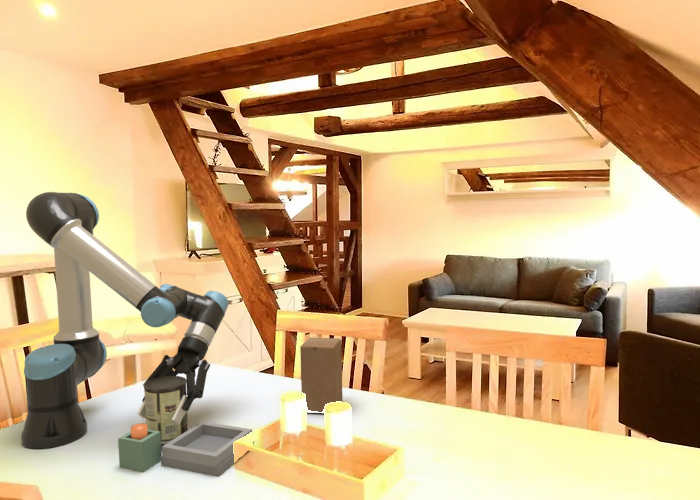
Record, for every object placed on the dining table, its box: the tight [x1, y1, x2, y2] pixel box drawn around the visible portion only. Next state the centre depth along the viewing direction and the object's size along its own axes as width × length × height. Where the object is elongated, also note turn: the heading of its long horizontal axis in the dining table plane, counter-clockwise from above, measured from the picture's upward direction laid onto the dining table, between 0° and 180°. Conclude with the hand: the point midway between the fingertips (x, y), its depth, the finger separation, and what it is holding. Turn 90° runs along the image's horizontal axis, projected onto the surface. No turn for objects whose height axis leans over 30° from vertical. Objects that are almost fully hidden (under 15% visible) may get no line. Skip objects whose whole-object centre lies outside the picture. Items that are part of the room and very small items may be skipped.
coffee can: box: [143, 375, 189, 445], centre depth 133 cm, size 10×10×14 cm
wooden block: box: [299, 337, 343, 412], centre depth 153 cm, size 10×10×20 cm
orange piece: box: [130, 422, 148, 440], centre depth 122 cm, size 4×4×5 cm
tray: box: [160, 421, 253, 477], centre depth 125 cm, size 16×15×4 cm
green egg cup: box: [117, 429, 162, 473], centre depth 122 cm, size 7×6×7 cm
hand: (158, 418), depth 130 cm, fingers closed on coffee can, 10 cm apart
